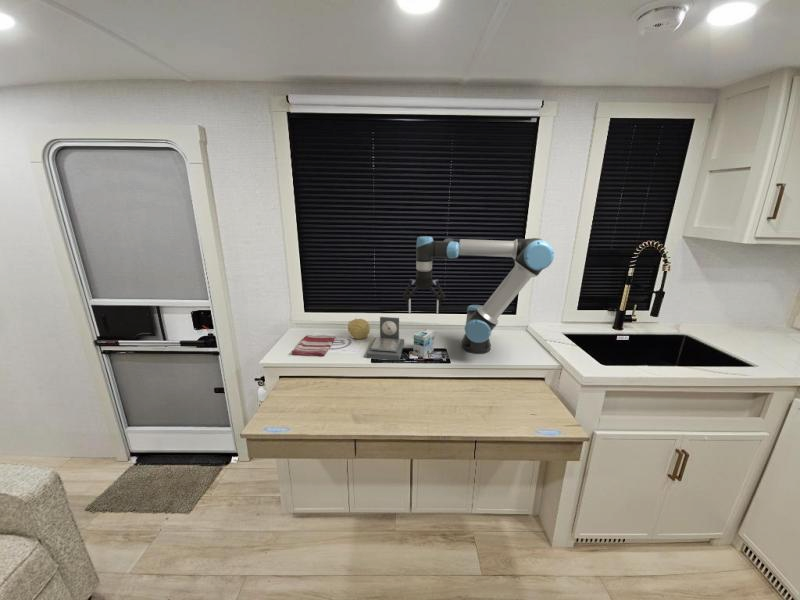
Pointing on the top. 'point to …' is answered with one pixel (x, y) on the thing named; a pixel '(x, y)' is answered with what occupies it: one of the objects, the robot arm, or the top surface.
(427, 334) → the light bulb box
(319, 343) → the dish towel
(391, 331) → the scale base
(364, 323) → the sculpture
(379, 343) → the pan
